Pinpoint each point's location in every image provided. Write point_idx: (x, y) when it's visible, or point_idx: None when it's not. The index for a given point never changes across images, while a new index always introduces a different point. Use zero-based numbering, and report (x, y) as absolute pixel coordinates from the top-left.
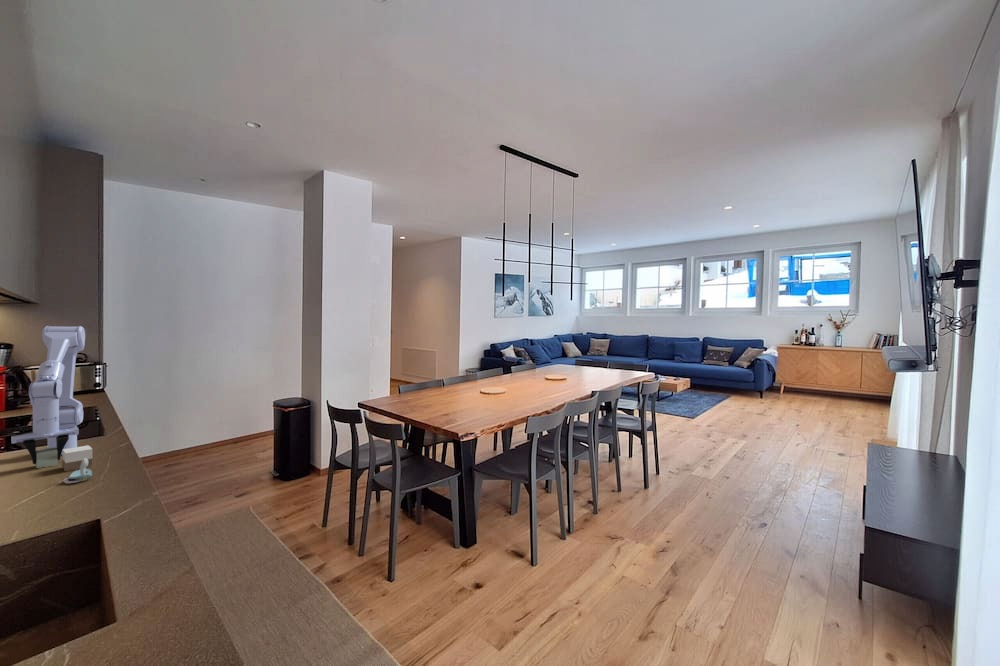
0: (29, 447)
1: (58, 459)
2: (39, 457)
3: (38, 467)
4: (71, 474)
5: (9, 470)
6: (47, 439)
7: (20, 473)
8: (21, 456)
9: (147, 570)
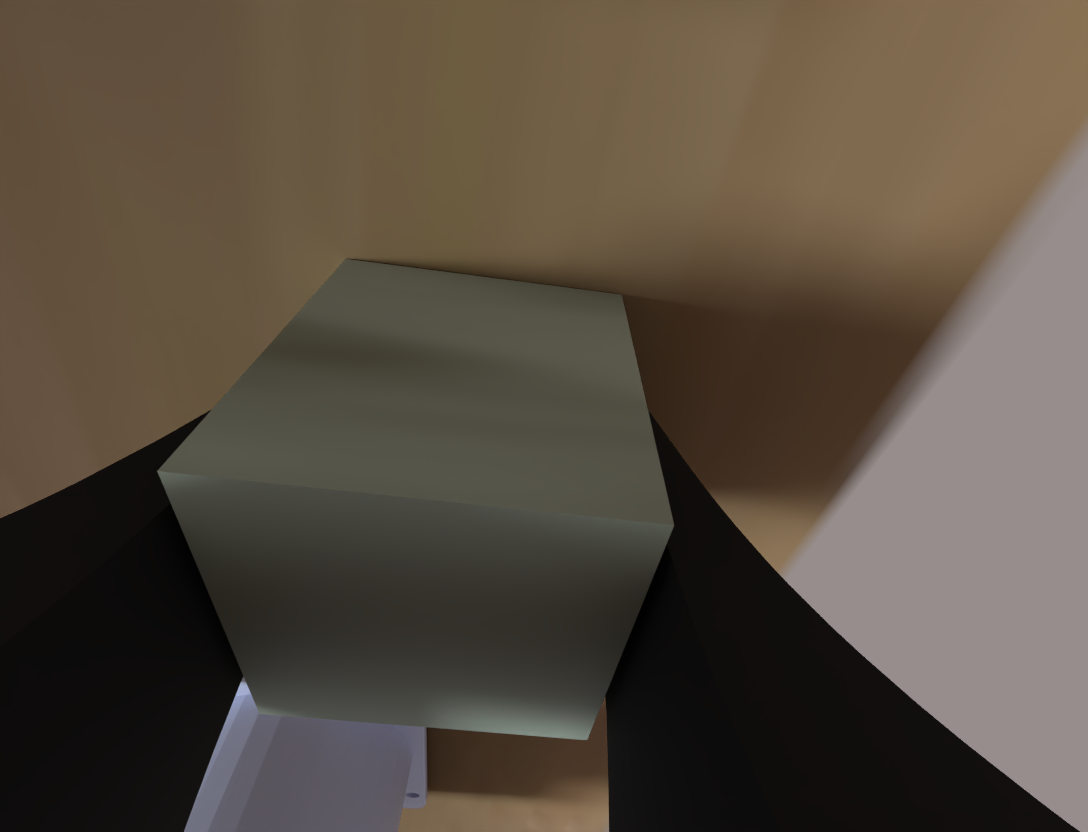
0: (969, 812)
1: None
2: (597, 419)
3: (600, 305)
4: None
5: (818, 510)
6: None
7: (873, 213)
8: (560, 788)
9: None
